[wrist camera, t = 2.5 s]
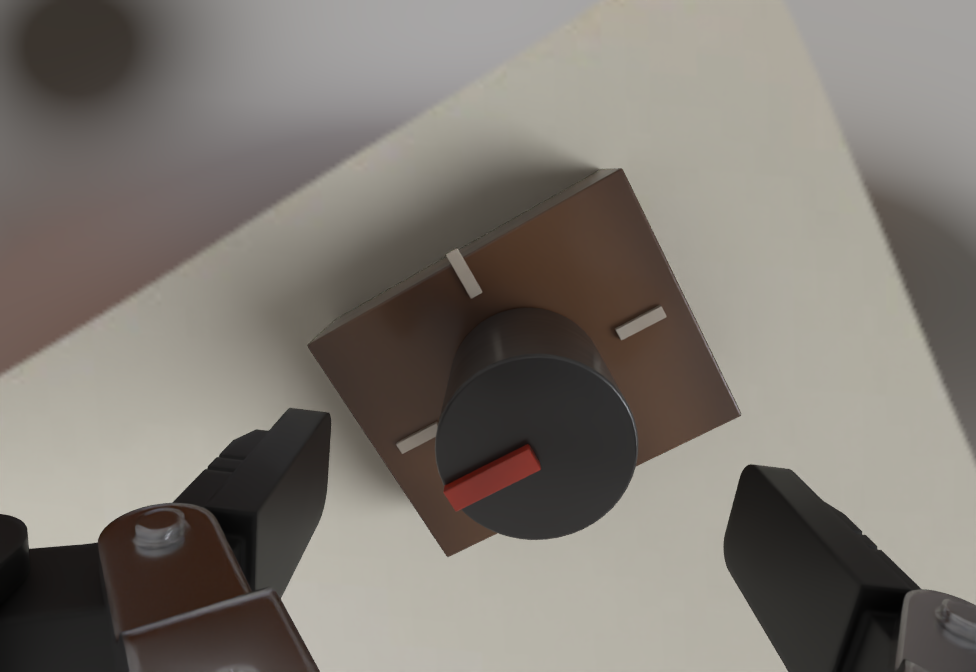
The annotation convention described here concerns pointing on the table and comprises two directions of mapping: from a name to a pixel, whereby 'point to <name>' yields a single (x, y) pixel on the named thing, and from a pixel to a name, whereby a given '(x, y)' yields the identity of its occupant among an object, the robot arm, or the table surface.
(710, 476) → the table surface
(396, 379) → the panel
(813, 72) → the table surface
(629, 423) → the lock knob
